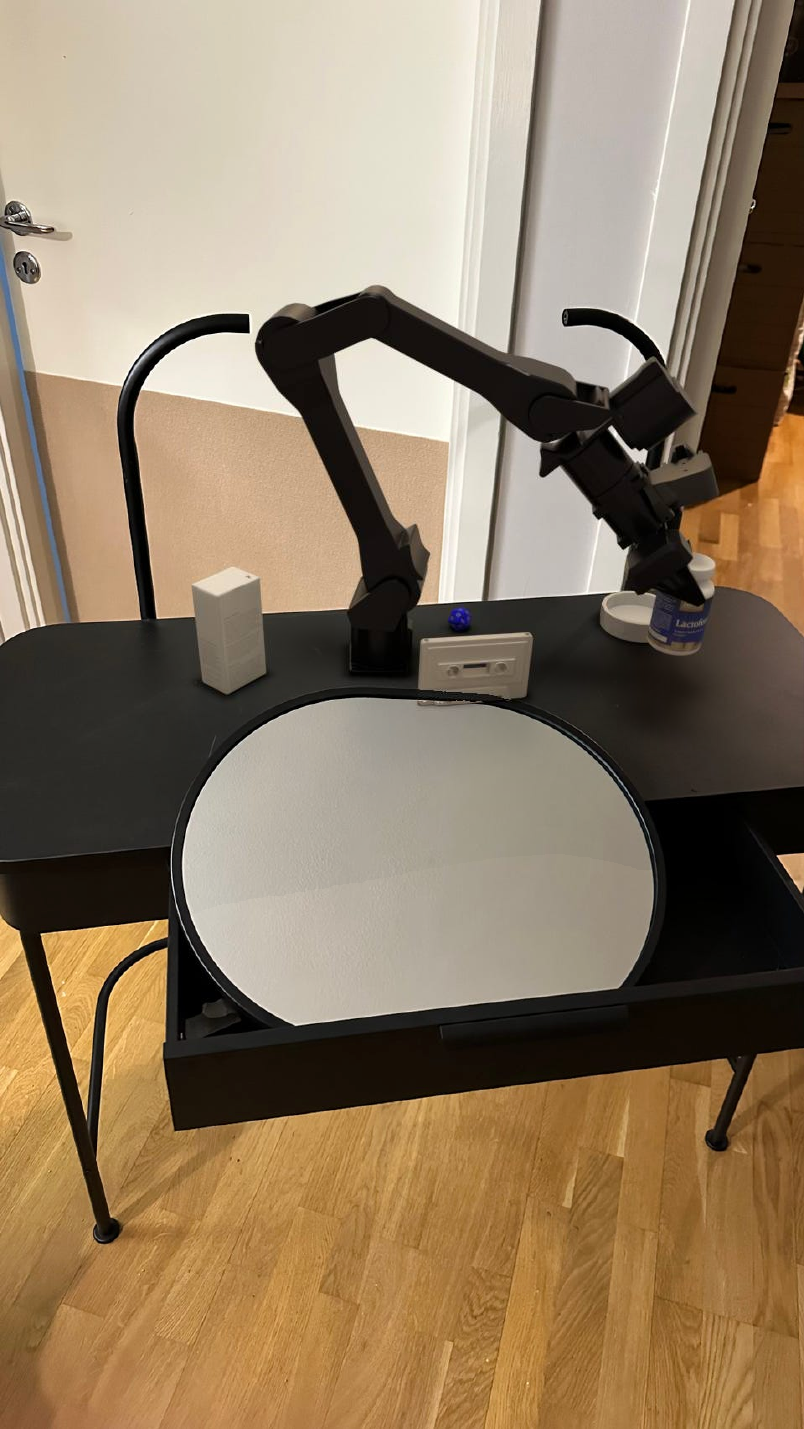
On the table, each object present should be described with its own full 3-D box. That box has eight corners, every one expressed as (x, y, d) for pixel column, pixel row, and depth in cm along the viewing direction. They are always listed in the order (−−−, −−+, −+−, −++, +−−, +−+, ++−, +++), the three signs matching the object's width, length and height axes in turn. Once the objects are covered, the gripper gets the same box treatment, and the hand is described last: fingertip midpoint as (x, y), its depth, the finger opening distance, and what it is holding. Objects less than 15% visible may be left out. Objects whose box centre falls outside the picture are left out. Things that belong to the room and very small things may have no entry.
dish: (607, 642, 117) (611, 624, 116) (593, 608, 125) (595, 590, 123) (680, 643, 118) (684, 624, 116) (661, 608, 125) (664, 591, 124)
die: (466, 636, 118) (452, 619, 116) (453, 634, 120) (439, 617, 119) (479, 620, 119) (466, 602, 117) (466, 618, 121) (453, 601, 119)
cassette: (523, 690, 108) (530, 629, 104) (527, 700, 106) (535, 638, 102) (416, 698, 106) (418, 636, 102) (419, 708, 104) (422, 645, 100)
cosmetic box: (240, 661, 111) (233, 564, 104) (267, 674, 109) (261, 576, 102) (199, 682, 107) (189, 583, 101) (226, 696, 105) (217, 596, 98)
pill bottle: (674, 663, 103) (693, 576, 97) (635, 639, 106) (652, 555, 101) (711, 649, 105) (732, 564, 100) (672, 626, 109) (690, 544, 104)
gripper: (689, 459, 86) (786, 586, 91) (670, 399, 101) (753, 510, 106) (585, 535, 91) (682, 651, 96) (582, 466, 106) (666, 569, 111)
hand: (698, 590), depth 102 cm, fingers closed on pill bottle, 6 cm apart
